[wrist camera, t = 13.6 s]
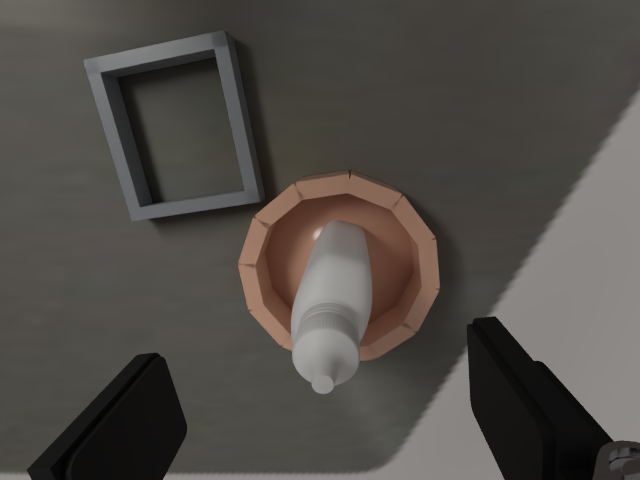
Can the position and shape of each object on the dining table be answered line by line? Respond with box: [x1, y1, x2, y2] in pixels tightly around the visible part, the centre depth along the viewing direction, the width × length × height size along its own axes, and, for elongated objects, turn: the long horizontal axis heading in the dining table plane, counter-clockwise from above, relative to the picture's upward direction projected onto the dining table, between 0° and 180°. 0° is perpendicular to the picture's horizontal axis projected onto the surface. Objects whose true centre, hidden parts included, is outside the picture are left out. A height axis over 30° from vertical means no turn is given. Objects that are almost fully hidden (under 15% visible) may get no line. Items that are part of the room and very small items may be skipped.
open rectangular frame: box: [83, 30, 266, 221], centre depth 21 cm, size 10×9×2 cm
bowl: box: [238, 170, 440, 361], centre depth 21 cm, size 11×11×4 cm
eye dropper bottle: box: [291, 220, 372, 394], centre depth 16 cm, size 4×6×12 cm
